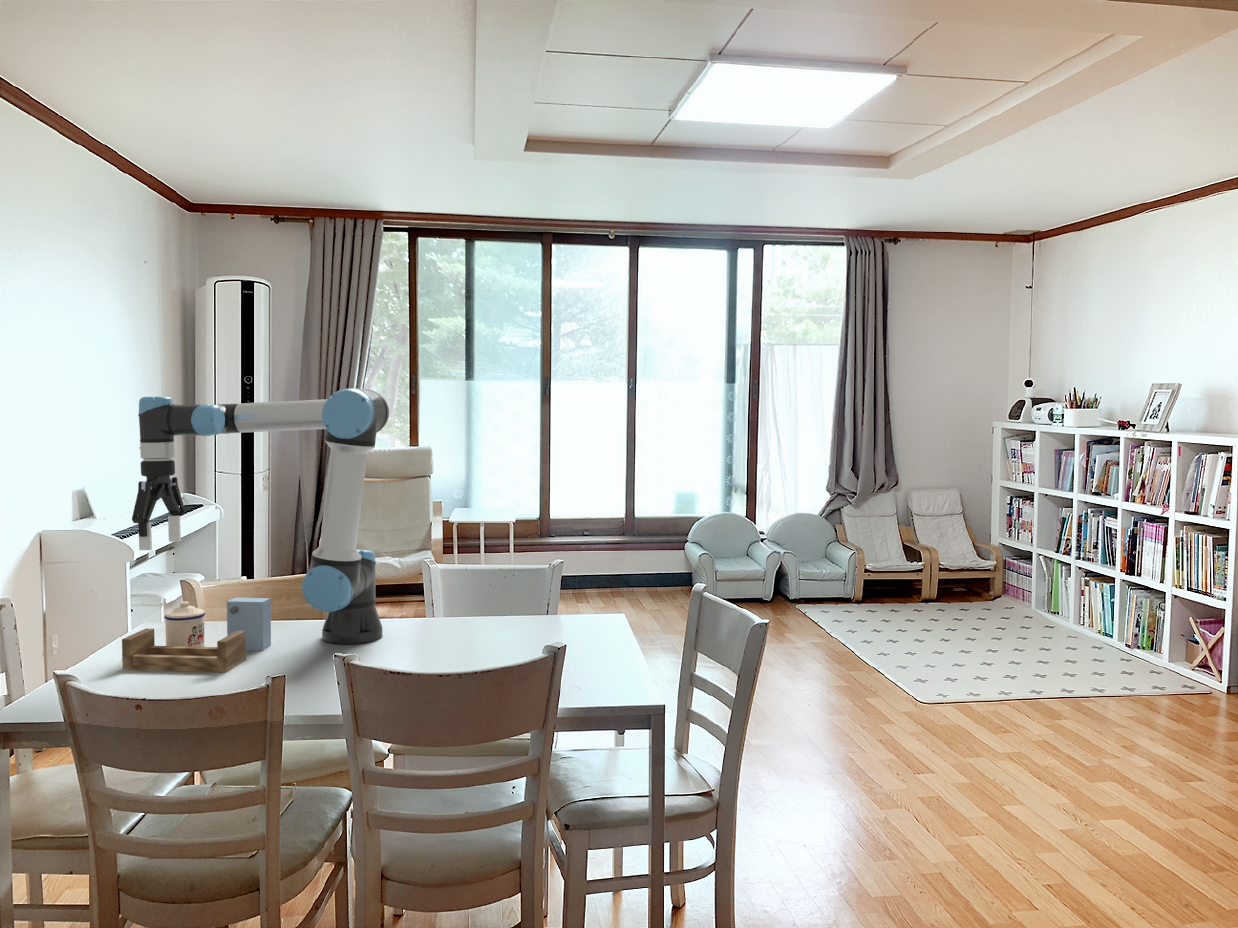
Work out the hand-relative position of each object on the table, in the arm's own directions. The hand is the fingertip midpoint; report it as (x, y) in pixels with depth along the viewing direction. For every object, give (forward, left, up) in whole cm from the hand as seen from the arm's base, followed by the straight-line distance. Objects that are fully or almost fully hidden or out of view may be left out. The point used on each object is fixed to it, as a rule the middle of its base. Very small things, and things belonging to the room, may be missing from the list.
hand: (160, 545), depth 230 cm
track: (-13, +15, -25) cm, 32 cm away
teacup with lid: (-7, 0, -25) cm, 26 cm away
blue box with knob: (-21, -1, -25) cm, 33 cm away
